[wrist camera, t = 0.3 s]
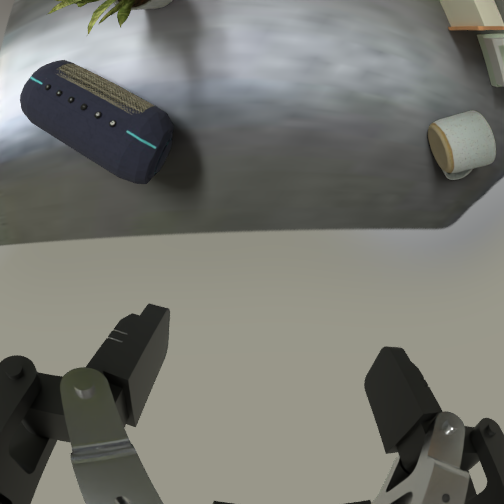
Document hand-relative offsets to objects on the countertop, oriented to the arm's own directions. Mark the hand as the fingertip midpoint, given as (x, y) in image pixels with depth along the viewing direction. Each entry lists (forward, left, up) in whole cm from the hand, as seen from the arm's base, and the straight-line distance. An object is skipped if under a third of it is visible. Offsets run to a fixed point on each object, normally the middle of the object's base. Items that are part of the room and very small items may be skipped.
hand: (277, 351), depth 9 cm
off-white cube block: (-10, +31, -31) cm, 44 cm away
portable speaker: (-16, -20, -31) cm, 40 cm away
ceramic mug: (+10, +23, -31) cm, 39 cm away
